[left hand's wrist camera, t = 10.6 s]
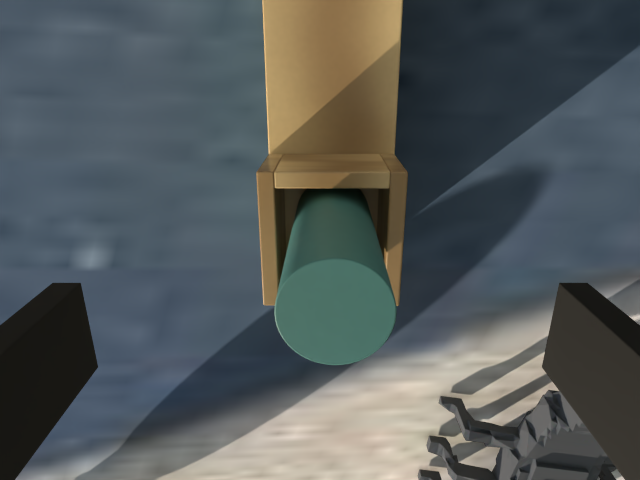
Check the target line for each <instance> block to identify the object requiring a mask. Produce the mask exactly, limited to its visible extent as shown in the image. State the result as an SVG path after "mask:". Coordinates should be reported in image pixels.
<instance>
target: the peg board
mask: <svg viewBox="0 0 640 480" xmlns="http://www.w3.org/2000/svg"><path fill="white" fill-rule="evenodd" d="M262 1H263V25H264V49H265V73H266V97H267V121H268V145H269V155H268V156H267V158H266V159H265V161H264V162H263V164H262V165H261V166H260V168H259V169H258V171H257V192H258V211H259V230H260V249H261V269H262V288H263V304H264V305H275V301H276V297H277V292H278V288H279V283H280V279H281V275H282V270H283V266H284V262H285V257H286V253H287V249H288V244H289V240H290V236H291V231H292V227H293V223H294V218H295V214H296V210H297V205H298V202H299V199H300V197H301V195H302V194H303V192H304V191H305V190H306V189H307V188H359V189H360V190H361V191H362V193H363V194H364V196H365V198H366V200H367V203H368V206H369V210H370V213H371V217H372V220H373V224H374V227H375V231H376V234H377V238H378V241H379V245H380V248H381V252H382V255H383V258H384V262H385V265H386V269H387V272H388V276H389V279H390V283H391V286H392V290H393V293H394V297H395V301H396V306H399V301H400V286H401V271H402V256H403V241H404V226H405V211H406V196H407V181H408V172H407V171H406V169H405V168H404V167H403V165H402V164H401V163H400V161H399V160H398V159H397V157H396V156H395V137H396V119H397V101H398V83H399V65H400V47H401V29H402V11H403V0H262Z"/></svg>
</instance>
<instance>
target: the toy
mask: <svg viewBox="0 0 640 480" xmlns="http://www.w3.org/2000/svg"><path fill="white" fill-rule="evenodd" d="M439 404H441V405H442V406H443V407H445V408H446V409H447V410H449V411H450V412H452V413H454V414H455V416H456V419H457V421H458V424H459V426H460V429H461V431H462V434H463V436H464V438H465V440H466V441H475V442H482V443H485V446H488V447H501V448H500V450H499V453H498V455H497V458H496V465H495V467H494V469H493V471H492V472H491V471H490V470H488V469H485V468H480V467H475V466H469V465H465V464H461V463H458V460H457V455H454V456H453V454H452V450H451V446H450V444H449V442H448V441H447V439H446V438H444V437H436V436H429V438H428V442H427V449H428V452H431V453H434V454H436V455H439V456H441V457H442V458H443V459H444V461H445V462H446V465H447V470H448V474H449V475H450V476H451V478H452V479H453V480H597V478H598V476H599V477H600V480H616V479H615V478H614V476H613V475H612V473H611V472H612V471H614V470H615V469H616V467H615V465H614V464H613V463H612V461H611V460H610V459H609V457H608V456H607V454H606V453H605V452H604V450H603V449H602V448H601V446H600V445H599V444H598V442H597V441H596V440H595V438H594V437H593V435H592V434H591V433H590V431H589V430H588V429H587V427H586V426H585V425H584V423H583V422H582V421H581V419H580V418H579V416H578V415H577V414H576V412H575V411H574V410H573V408H572V407H571V406H570V404H569V403H568V402H567V400H566V399H565V398H564V396H563V395H562V393H561V392H560V391H552V390H548V391H547V393H546V394H545V395H543V396H542V398H541V399H540V401H539V403H538V404H537V406H536V407H535V409H534V410H533V411H532V412H530V411H528V413H527V414H526V416H525V417H524V419H523V421H522V422H521V424H520V425H519V427H518V428H515V427H504V426H498V425H495V424H492V423H487V422H481V421H475V420H474V419H473V418H472V417H471V415H470V414H469V413H468V412H467V410H466V408H465V406H464V404H463V401H462V399H460V398H452V397H444V396H440V400H439ZM418 478H419V480H441V477H440V474H439V472H436V471H428V470H419V473H418Z"/></svg>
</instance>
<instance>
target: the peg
mask: <svg viewBox="0 0 640 480" xmlns="http://www.w3.org/2000/svg"><path fill="white" fill-rule="evenodd" d="M274 314H275V321H276V325H277V328H278V330H279V333H280V334H281V336H282V338H283V339H284V341H285V342H286V343H287V344H288V346H290V347H291V348H292V349H293V350H294V351H295V352H296V353H298V354H299V355H301V356H303V357H304V358H306V359H309V360H311V361H314V362H317V363H321V364H327V365H344V364H350V363H354V362H357V361H360V360H362V359H365V358H366V357H368V356H370V355H372V354H373V353H374V352H376V351H377V350H378V349H379V348H380V347H381V346H382V345H383V344H384V343H385V342H386V341H387V339H388V338H389V336H390V334H391V332H392V330H393V328H394V325H395V321H396V314H397V310H396V301H395V297H394V293H393V290H392V286H391V283H390V279H389V276H388V272H387V269H386V265H385V262H384V258H383V255H382V252H381V248H380V245H379V241H378V238H377V234H376V231H375V227H374V224H373V220H372V217H371V213H370V210H369V206H368V203H367V200H366V198H365V196H364V194H363V193H362V191H361V190H360V189H359V188H307V189H306V190H305V191H304V192H303V194H302V195H301V197H300V199H299V202H298V205H297V210H296V214H295V218H294V223H293V227H292V231H291V236H290V240H289V244H288V249H287V253H286V257H285V262H284V266H283V270H282V275H281V279H280V283H279V288H278V292H277V297H276V301H275V310H274Z"/></svg>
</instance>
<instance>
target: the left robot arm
mask: <svg viewBox="0 0 640 480" xmlns="http://www.w3.org/2000/svg"><path fill="white" fill-rule="evenodd" d="M97 368H98V365H97V360H96V355H95V350H94V345H93V340H92V336H91V331H90V326H89V321H88V316H87V311H86V307H85V302H84V297H83V292H82V287H81V283H52V284H51V285H50V286H48V287H47V288H46V289H45V290H43V291H42V292H41V293H40V294H38V295H37V296H36V297H35V298H34V299H32V300H31V301H30V302H29V303H27V304H26V305H25V306H24V307H22V308H21V309H20V310H19V311H18V312H16V313H15V314H14V315H13V316H11V317H10V318H9V319H8V320H6V321H5V322H4V323H3V324H1V325H0V480H15V479H16V477H17V476H18V475H19V473H20V472H21V471H22V469H23V468H24V467H25V465H26V464H27V463H28V461H29V460H30V459H31V457H32V456H33V454H34V453H35V452H36V450H37V449H38V448H39V446H40V445H41V444H42V442H43V441H44V440H45V438H46V437H47V435H48V434H49V433H50V431H51V430H52V429H53V427H54V426H55V425H56V423H57V422H58V421H59V419H60V418H61V416H62V415H63V414H64V412H65V411H66V410H67V408H68V407H69V406H70V404H71V403H72V402H73V400H74V399H75V398H76V396H77V395H78V393H79V392H80V391H81V389H82V388H83V387H84V385H85V384H86V383H87V381H88V380H89V379H90V377H91V376H92V374H93V373H94V372H95V370H96V369H97ZM542 368H543V369H544V370H545V372H546V373H547V374H548V376H549V377H550V379H551V380H552V381H553V383H554V384H555V385H556V387H557V388H558V389H559V391H560V392H561V393H562V395H563V396H564V398H565V399H566V400H567V402H568V403H569V404H570V406H571V407H572V408H573V410H574V411H575V412H576V414H577V415H578V416H579V418H580V419H581V421H582V422H583V423H584V425H585V426H586V427H587V429H588V430H589V431H590V433H591V434H592V435H593V437H594V438H595V440H596V441H597V442H598V444H599V445H600V446H601V448H602V449H603V450H604V452H605V453H606V454H607V456H608V457H609V459H610V460H611V461H612V463H613V464H614V465H615V467H616V468H617V469H618V471H619V472H620V473H621V475H622V476H623V477H624V479H625V480H640V325H639V324H637V323H636V322H635V321H634V320H632V319H631V318H630V317H629V316H627V315H626V314H625V313H624V312H622V311H621V310H620V309H619V308H618V307H616V306H615V305H614V304H613V303H611V302H610V301H609V300H608V299H606V298H605V297H604V296H603V295H602V294H600V293H599V292H598V291H597V290H595V289H594V288H593V287H592V286H590V285H589V284H588V283H559V287H558V292H557V297H556V302H555V307H554V311H553V316H552V321H551V326H550V331H549V336H548V340H547V345H546V350H545V355H544V360H543V365H542Z"/></svg>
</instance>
